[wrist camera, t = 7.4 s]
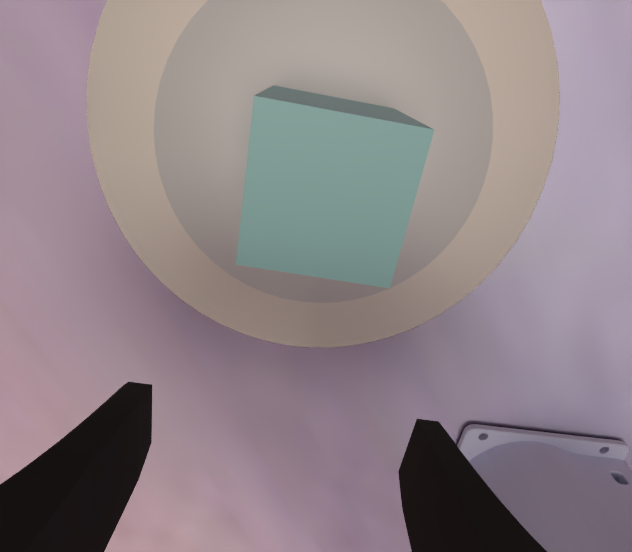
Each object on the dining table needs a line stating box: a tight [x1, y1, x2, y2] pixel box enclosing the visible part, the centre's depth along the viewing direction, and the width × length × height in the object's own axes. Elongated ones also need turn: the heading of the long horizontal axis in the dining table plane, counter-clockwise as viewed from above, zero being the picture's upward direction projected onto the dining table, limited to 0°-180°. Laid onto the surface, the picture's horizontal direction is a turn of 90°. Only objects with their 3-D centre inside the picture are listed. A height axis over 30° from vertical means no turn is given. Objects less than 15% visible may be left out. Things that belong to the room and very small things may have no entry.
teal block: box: [236, 85, 434, 288], centre depth 14 cm, size 4×4×6 cm
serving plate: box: [87, 0, 560, 348], centre depth 17 cm, size 18×18×1 cm
